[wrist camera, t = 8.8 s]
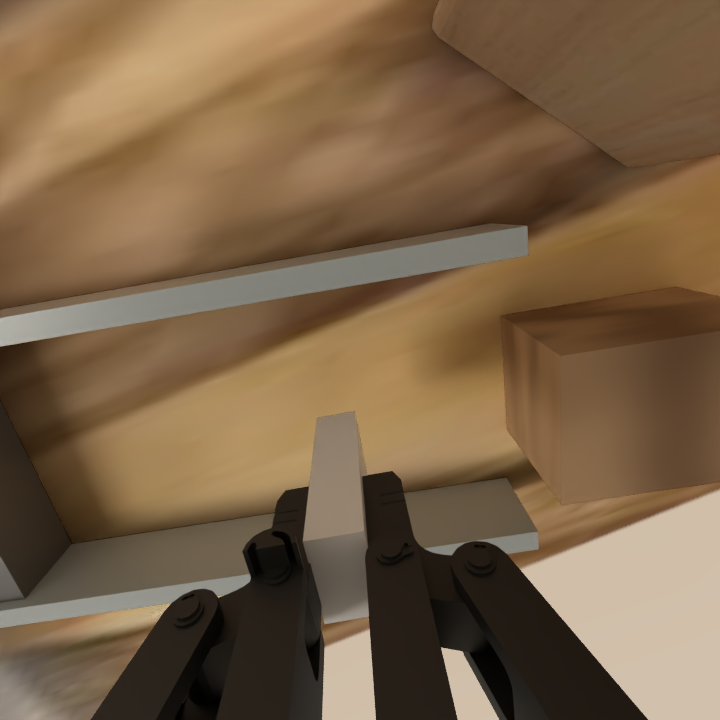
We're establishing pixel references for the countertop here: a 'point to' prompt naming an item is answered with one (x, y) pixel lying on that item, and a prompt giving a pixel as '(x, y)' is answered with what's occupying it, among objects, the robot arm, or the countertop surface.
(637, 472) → the walnut block
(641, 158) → the wooden block
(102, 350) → the countertop surface
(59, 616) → the grey u-shaped frame
